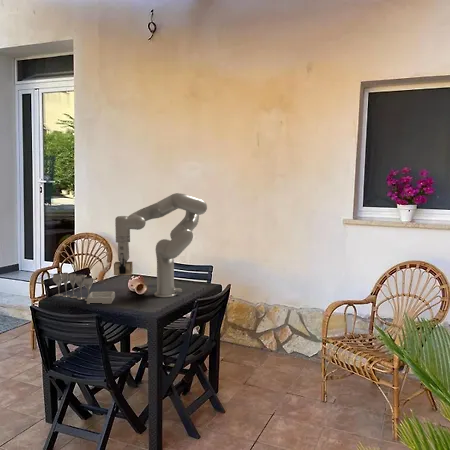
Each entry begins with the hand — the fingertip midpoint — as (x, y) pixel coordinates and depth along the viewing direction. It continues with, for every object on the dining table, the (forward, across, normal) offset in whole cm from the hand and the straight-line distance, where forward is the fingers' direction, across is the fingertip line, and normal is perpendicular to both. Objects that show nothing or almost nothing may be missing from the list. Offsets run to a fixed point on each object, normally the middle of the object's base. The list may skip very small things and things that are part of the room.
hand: (123, 271), depth 245 cm
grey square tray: (+15, 0, +12) cm, 20 cm away
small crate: (+1, 0, 0) cm, 1 cm away
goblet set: (+15, +6, +28) cm, 33 cm away
